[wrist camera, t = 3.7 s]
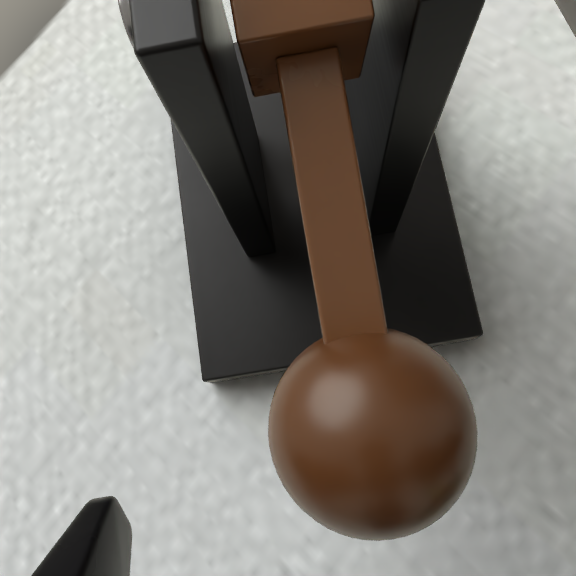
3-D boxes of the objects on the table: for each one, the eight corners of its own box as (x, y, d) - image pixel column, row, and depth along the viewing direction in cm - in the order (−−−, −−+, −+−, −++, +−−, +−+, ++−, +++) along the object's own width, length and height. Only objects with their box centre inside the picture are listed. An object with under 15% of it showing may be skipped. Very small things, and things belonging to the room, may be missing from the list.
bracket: (473, 339, 18) (739, 222, 6) (210, 383, 18) (4, 349, 7) (401, 31, 20) (493, -448, 9) (172, 75, 21) (-23, -332, 9)
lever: (460, 477, 11) (531, 566, 8) (290, 503, 11) (281, 603, 8) (368, -46, 11) (396, -204, 8) (202, -14, 11) (152, -154, 8)
